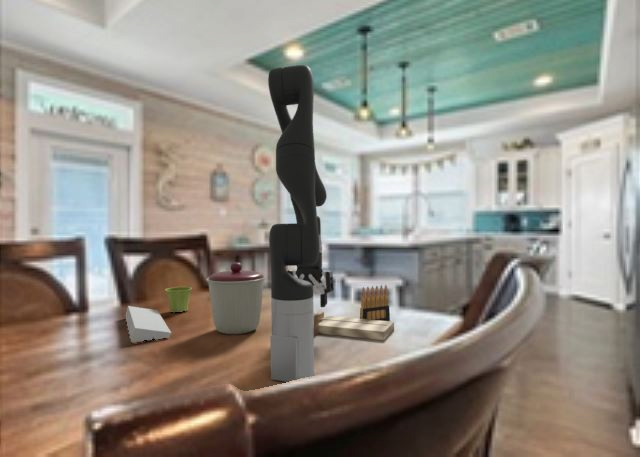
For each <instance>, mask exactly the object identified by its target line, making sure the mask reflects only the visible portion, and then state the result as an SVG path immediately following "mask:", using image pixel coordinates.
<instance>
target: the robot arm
mask: <svg viewBox="0 0 640 457" xmlns="http://www.w3.org/2000/svg"><path fill="white" fill-rule="evenodd" d="M267 80H268V82H267V84H268V91H269V95H270V99H271V102H272V105H273V109H274V112H275V116H276V118H277V122H278V126H279V127H280V131H281V135H280V137H279V139H278V141H277V143H276V145H275V146H276V147H275V171H276V175H277V178H278V179H279V181H280V182H281V184H282V185H283V186H284V188H285V190H286V191H287V192H288V194H289V195H290V196H289V197H290V201H291V203H292V208H293V211H294V214H295V220H296V223H275V224H273V225H272V226H271V227H270V230H269V236H268V244H269V246H268V247H269V249H268V250H269V258H270V275H271V276H270V281H271V287H270V288H271V292H270V294H271V299H270V300H271V301H270V302H271V335H270V338H269V339H270V379H271V380H274V381H279V382H284V383H285V382H286V383H289V382H288V381H292V380H297V379H300V378H305V377H310V376H313V377H314V375H315V336H314V308H315V307H314V306H315V305H314V287H315V288H316V289H318V291H319V293H320V295H319V297H320V299H319V301H320V302H319V303H320V305H319V306H320V308H325V307H326V306H327V304H328V294H329V293H332V292H333V291H334V276H333V274H334V273H333V271H332V270H327V271H324V270H323V252H322V251H323V246H322V236H321V235H322V232H321V231H322V229H321V226H322V225H321V217H320V216H318V212H317V208H318V207H322V206H323V205H324V204H325V202H326V200H327V190H326V187H325V185H324V183H323V181H322V179H321V177H320V175H319V172H318V169H317V164H316V151H315V150H316V149H315V139H314V138H315V136H314V95H315V94H314V93H315V90H314V89H315V86H314V85H315V84H314V83H315V82H314V75H313V73H312V69H311V68H310V67H309V66H308V65H307V64H298V65H289V66H283V67H276V68H275V67H274V68H272V69H270V71H269V73H268V79H267ZM294 105H297V107H296V111H295V113H294V115H293V118H292V116H291V115H290V112H289V110H288V107H287V106H294ZM287 266H289V267H290V266H291V267H292V266H295V267H296V270H294V269H290V270H289V269H288V270H287V269H286V267H287ZM322 278H324V279H325V283H324V281H323V280H322Z"/></svg>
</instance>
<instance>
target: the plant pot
mask: <svg viewBox="0 0 640 457" xmlns="http://www.w3.org/2000/svg"><path fill="white" fill-rule="evenodd" d="M192 289H193V288H192V287H190V286H175V287H169V288H165V289H164V290H165V292H166V295H167V299H168V305H169V311H170V312H171V311H174V312H173V313H175V312H180V311H185V312H187V311H186V310H188V309H189V302H190V294H191V291H192ZM188 311H189V310H188Z"/></svg>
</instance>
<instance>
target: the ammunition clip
mask: <svg viewBox="0 0 640 457" xmlns="http://www.w3.org/2000/svg"><path fill="white" fill-rule="evenodd" d="M359 311H360V312H359V319H369V320H380V321H391V315H390V314H391V313H390V305H389V294H388V286H387V284H385V285H384V288H383V285H380V287H379V286H378V285H376V286H375V288H374V286H373V285H372V286H371V289H370V287H369V286H367V287H366V290H365V287H364V286H363V287H362V288H361V299H360V309H359Z"/></svg>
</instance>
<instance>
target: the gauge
mask: <svg viewBox="0 0 640 457" xmlns="http://www.w3.org/2000/svg"><path fill="white" fill-rule="evenodd" d="M324 316H325V312H324V311H318V312H316V313H314V337H316V336H318V335H319V334H320V333H319V320H320V319H322V318H323V317H324Z"/></svg>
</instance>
